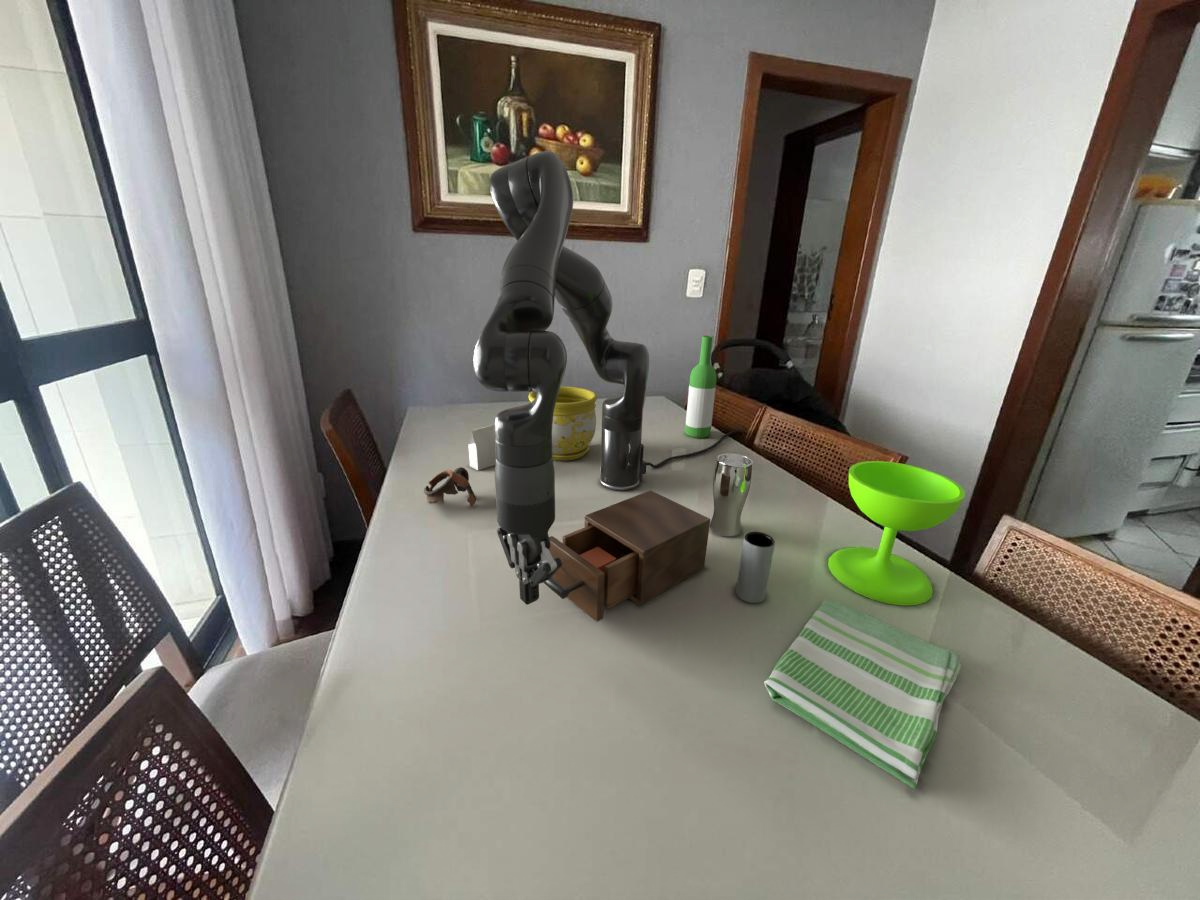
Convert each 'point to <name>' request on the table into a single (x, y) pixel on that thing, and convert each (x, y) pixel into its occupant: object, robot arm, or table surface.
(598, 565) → the block
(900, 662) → the dish towel
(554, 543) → the drawer
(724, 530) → the beer glass
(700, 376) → the wine bottle
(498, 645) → the table surface
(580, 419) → the flowerpot
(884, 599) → the wineglass
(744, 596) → the grey cylinder
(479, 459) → the white milk carton
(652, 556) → the cabinet
